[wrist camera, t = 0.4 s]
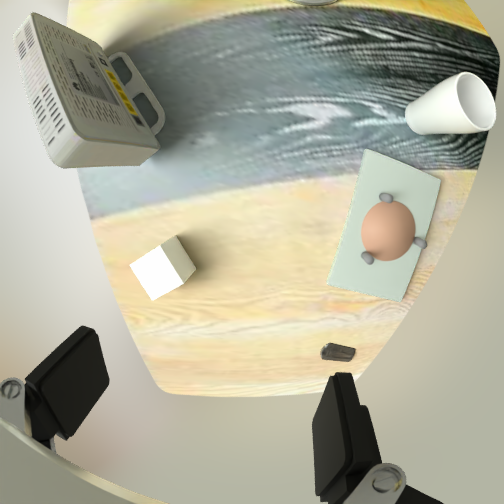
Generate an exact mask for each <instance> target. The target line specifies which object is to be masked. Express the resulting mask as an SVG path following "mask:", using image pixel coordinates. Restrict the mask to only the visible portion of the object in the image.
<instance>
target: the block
mask: <svg viewBox="0 0 504 504" xmlns="http://www.w3.org/2000/svg"><path fill="white" fill-rule="evenodd" d="M354 352H355V349H354V348H350V347H346V346H341V345H337V344H333V343H328V344H326V345H325V346H324V347H323V348H322V350H321V358H322V359H324V360H333V361H344V362H349V361H350V360H352V358H353V356H354Z"/></svg>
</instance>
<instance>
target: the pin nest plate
mask: <svg viewBox="0 0 504 504" xmlns="http://www.w3.org/2000/svg"><path fill="white" fill-rule="evenodd" d="M440 183H441V180H440V179H438V178H435V177H433V176H431V175H429V174H427V173H425V172H423V171H420V170H418V169H416V168H414V167H411V166H409V165H407V164H404V163H402V162H400V161H397V160H395V159H392V158H390V157H387V156H385V155H382V154H380V153H377V152H374V151H372V150H369V149H364V153H363V158H362V162H361V166H360V170H359V174H358V178H357V182H356V186H355V190H354V193H353V197H352V201H351V204H350V208H349V211H348V215H347V218H346V222H345V225H344V228H343V232H342V235H341V238H340V241H339V245H338V248H337V251H336V254H335V257H334V260H333V263H332V266H331V269H330V272H329V275H328V278H327V281H326V283H327V285H330V286H334V287H338V288H343V289H347V290H351V291H355V292H359V293H363V294H368V295H372V296H376V297H380V298H385V299H389V300H393V301H397V302H401V300H402V298H403V296H404V294H405V291H406V289H407V286H408V284H409V281H410V279H411V276H412V274H413V271H414V269H415V266H416V263H417V261H418V258H419V255H420V252H421V249H425V248H426V247H427V242H426V241H425V237H426V234H427V231H428V228H429V225H430V221H431V218H432V214H433V211H434V207H435V203H436V199H437V196H438V191H439V187H440Z"/></svg>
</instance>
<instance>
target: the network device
mask: <svg viewBox="0 0 504 504" xmlns="http://www.w3.org/2000/svg"><path fill="white" fill-rule="evenodd" d="M13 39H14V45H15V50H16V55H17V60H18V65H19V69H20V73H21V77H22V81H23V85H24V88H25V91H26V95H27V98H28V101H29V105H30V108H31V111H32V114H33V117H34V120H35V123H36V126H37V128H38V131H39V133H40V136H41V139H42V141H43V144H44V146H45V149H46V151H47V153H48V156H49V158H50V159H51V161H52V162H53V163H54V164H56V165H57V166H59V167H61V168H80V167H101V166H140V165H141V164H142V163H143V162H144V161H146V160H147V159H148V158H149V157H150V156H152V155H153V154H154V153H155V152H157V151H158V150H159V149H160V144H159V142H158V141H157V139H156V137H155V135H156V134H157V133H158V132H159V131H160V130H161V129H162V127H163V125H164V122H165V112H164V109H163V108H162V106H161V104H160V103H159V101H158V100H157V98H156V97H155V95H154V94H153V92H152V91H151V89H150V88H149V86H148V85H147V83H146V81H145V80H144V78H143V77H142V75H141V74H140V72H139V71H138V69H137V68H136V66H135V65H134V63H133V62H132V60H131V58H130V57H129V56H128V55H127V54H126V53H124V52H116V53H114V54H112V55H110V56H109V57H108V58H107V56H106V55H105V53H104V51H103V50H102V48H101V47H100V46H99V45H98V44H97V43H96V42H94V41H92V40H91V39H89V38H87V37H85V36H83V35H81V34H79V33H77V32H76V31H74V30H72V29H70V28H68V27H66V26H63V25H61V24H59V23H57V22H55V21H53V20H51V19H48V18H46V17H44V16H42V15H40V14H37V13H31V14H30V15H29V16H28V18H27V19H26V20H25V21H24V22H23V24H22V25H21V26H20V27H19V29H18V30H17V31H16V33H15V34H14V35H13ZM119 57H122V58H123V60H124V62H125V63H126V65H127V66H128V68H129V69H130V71H131V73H132V78H131V80H130V81H129V82H128V83H127V84H126V85H125V86H124V85H123V83H122V82H121V80H120V78H119V77H118V75H117V73H116V72H115V70H114V68H113V67H112V65H111V63H112V62H113V61H114V60H116V59H117V58H119ZM140 93H145V95H146V96H147V98H148V99H149V101H150V103H151V104H152V106H153V107H154V109H155V110H156V112H157V114H158V121H157V123H156V124H155V125H154V126H152V127H151V128H149V126H148V124H147V123H146V121H145V120H144V118H143V116H142V115H141V113H140V111H139V110H138V108H137V107H136V105H135V103H134V102H133V100H132V99H133V98H134V97H135V96H137V95H138V94H140Z"/></svg>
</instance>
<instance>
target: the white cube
mask: <svg viewBox="0 0 504 504" xmlns="http://www.w3.org/2000/svg"><path fill="white" fill-rule="evenodd" d="M130 267H131V268H132V270H133V272H134V273H135V275H136V276H137V278H138V280H139V281H140V283H141V284H142V286H143V287H144V289H145V290H146V292H147V293H148V295H149V296H150V298H151V299H152V300H154V299H156V298H158V297H160V296H162V295H164V294H166V293H167V292H169V291H171V290H173V289H175V288H177V287H179V286H181V285H182V284H184V283H185V282H186V281H187V279H188V278H189V277H190V276H191V275H192V273H193V272H194V271H195V270H196V267H195V266H194V264H193V263H192V261H191V259H190V258H189V256H188V254H187V253H186V251H185V250H184V248H183V246H182V245H181V243H180V241H179V240H178V238H177V236H176V235H175V236H174V237H172V238H170V239H169V240H167V241H166V242H164V243H163V244H161V245H159V246H158V247H156V248H155V249H153V250H152V251H150V252H149V253H147V254H146V255H144V256H143V257H141V258H139V259H138V260H137V261H135V262H134V263H132V264H131V265H130Z"/></svg>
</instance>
